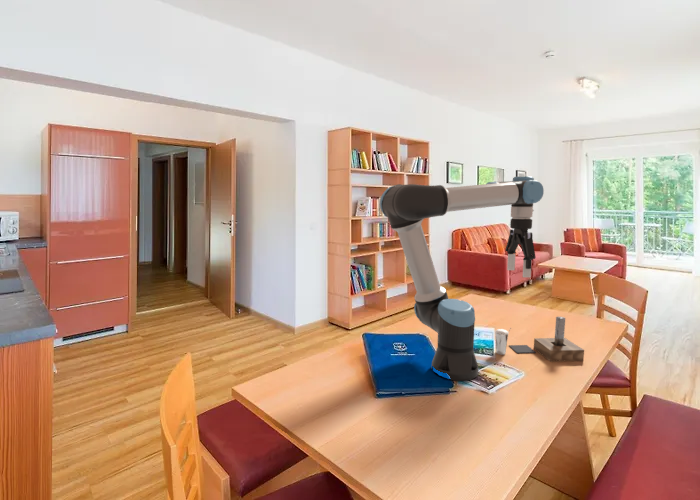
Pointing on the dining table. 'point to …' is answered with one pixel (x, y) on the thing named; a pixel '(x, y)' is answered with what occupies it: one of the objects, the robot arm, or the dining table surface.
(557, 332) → the pin
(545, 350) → the hole block
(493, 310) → the dining table surface
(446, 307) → the robot arm
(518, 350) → the mat
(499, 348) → the milkshake
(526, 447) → the dining table surface
